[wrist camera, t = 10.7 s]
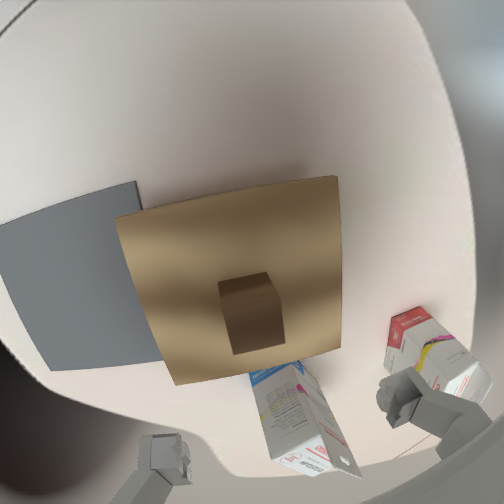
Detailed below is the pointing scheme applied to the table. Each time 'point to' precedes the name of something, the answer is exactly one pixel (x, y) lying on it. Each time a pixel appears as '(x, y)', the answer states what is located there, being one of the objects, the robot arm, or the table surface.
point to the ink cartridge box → (434, 356)
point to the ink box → (299, 421)
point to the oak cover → (239, 277)
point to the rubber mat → (77, 283)
